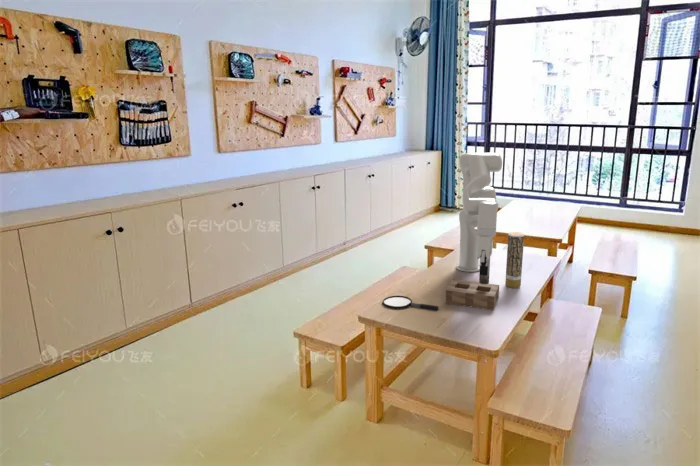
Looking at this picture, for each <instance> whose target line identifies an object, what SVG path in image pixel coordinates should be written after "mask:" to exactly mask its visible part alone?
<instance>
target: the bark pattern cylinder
mask: <svg viewBox="0 0 700 466" xmlns="http://www.w3.org/2000/svg"><path fill="white" fill-rule="evenodd" d="M507 235H508V236H507V252H506V264H505V265H506V269H505V282H504V283H505V286H506V287H507V288H510V289H519V288H520V287H521V285H522V274H523V272H522V271H523V258H524V243H525V234H524V233H523V232H519V231H518V232H517V231H511V232H509V233H508V234H507Z"/></svg>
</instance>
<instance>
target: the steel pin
mask: <svg viewBox="0 0 700 466" xmlns="http://www.w3.org/2000/svg"><path fill="white" fill-rule="evenodd" d="M485 259H486V258H485ZM480 260H481V257H480V258H479V261H480ZM485 262H486V261H485ZM487 266H488V275H487V276H485V275H480V273H479V275H478V276H479V279H478V282H479V283H480V284H490V271H491V270H490V269H491V268H490V267H491V257H490V258H489V259H488V262H487Z"/></svg>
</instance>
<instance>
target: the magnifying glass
mask: <svg viewBox="0 0 700 466" xmlns="http://www.w3.org/2000/svg"><path fill="white" fill-rule="evenodd" d="M382 305H383V306H384V307H385V308H387V309H392V310H404V309H409V308H410V307H411V308H419V309H423V310H428V311H429V310H430V311H435V312H437V311H438V310H439V306H438V305H433V304H427V303H426V304H425V303H417V302H416V303H415V302H413V299H411V298H410V297H408V296H404V295H391V296H390V295H389V296H387V297H385V298H384V299H383V300H382Z"/></svg>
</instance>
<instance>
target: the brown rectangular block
mask: <svg viewBox="0 0 700 466" xmlns="http://www.w3.org/2000/svg"><path fill="white" fill-rule="evenodd" d="M499 294H500V285H499V284H494V283H489V284H480V283H479V281H470V280H463V279H461V280H460V279H456V278H455V279H452V280H451V282H450V284H449V285H448V286H447V287H446V289H445V304H448V305H449V304H450V305H457V306H462V305H465V306H464V307H469V306H472V307H471V308H476V307H479V308H478V309H483V308H484V310H491V311H494V310H495V307H496V306H497V302H498V300H499V297H500V295H499Z"/></svg>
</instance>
